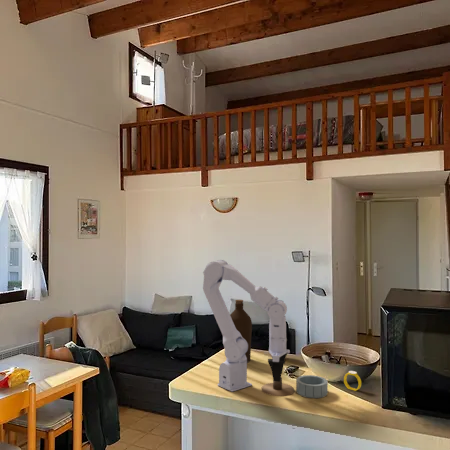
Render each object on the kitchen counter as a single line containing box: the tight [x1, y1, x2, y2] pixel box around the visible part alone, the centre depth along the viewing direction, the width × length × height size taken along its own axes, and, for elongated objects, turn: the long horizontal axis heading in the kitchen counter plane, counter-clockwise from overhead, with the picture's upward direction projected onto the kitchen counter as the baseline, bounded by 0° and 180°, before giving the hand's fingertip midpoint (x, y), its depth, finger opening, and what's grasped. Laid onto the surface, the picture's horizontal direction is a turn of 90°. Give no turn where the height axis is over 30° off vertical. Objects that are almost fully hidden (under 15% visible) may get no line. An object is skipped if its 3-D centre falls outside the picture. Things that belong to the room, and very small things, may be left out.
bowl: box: [295, 374, 329, 399], centre depth 143 cm, size 10×10×4 cm
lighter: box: [321, 354, 331, 363], centre depth 156 cm, size 7×2×8 cm, turn 38°
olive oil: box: [229, 299, 253, 363], centre depth 178 cm, size 11×11×25 cm
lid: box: [260, 376, 295, 397], centre depth 145 cm, size 11×11×4 cm
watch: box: [343, 370, 362, 392], centre depth 146 cm, size 6×3×6 cm, turn 43°
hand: (277, 377), depth 145 cm, fingers open, 7 cm apart
